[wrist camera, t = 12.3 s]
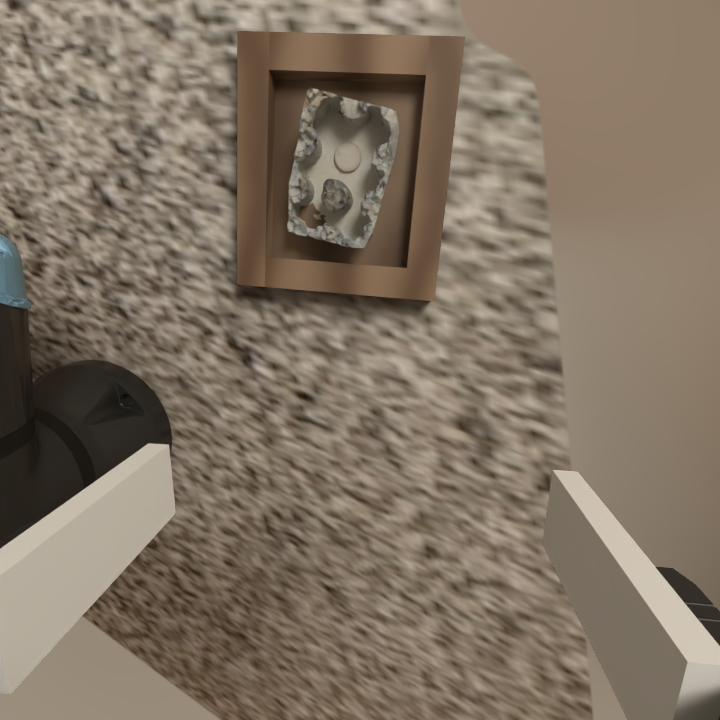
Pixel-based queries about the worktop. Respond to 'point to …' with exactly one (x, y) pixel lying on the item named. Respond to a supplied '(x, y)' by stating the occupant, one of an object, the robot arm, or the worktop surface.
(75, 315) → the worktop surface
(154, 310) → the worktop surface
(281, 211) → the pocket board
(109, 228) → the worktop surface
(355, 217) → the egg carton
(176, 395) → the worktop surface
